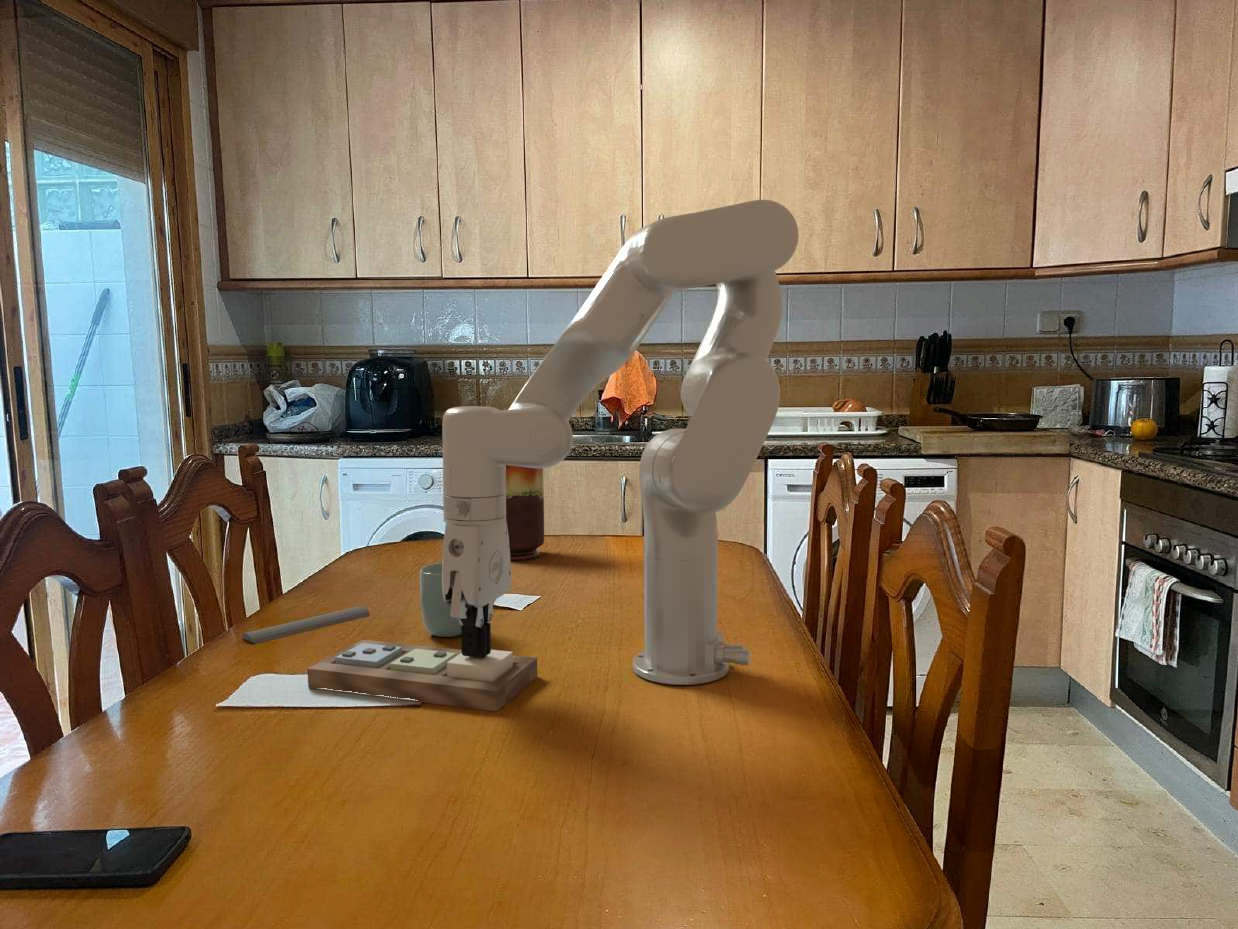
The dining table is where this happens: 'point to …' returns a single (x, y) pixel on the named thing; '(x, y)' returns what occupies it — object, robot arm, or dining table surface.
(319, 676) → the board
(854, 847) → the dining table surface
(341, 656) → the tile
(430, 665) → the tile
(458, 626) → the cup
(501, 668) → the tile
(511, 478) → the vase
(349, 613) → the gray half cylinder
